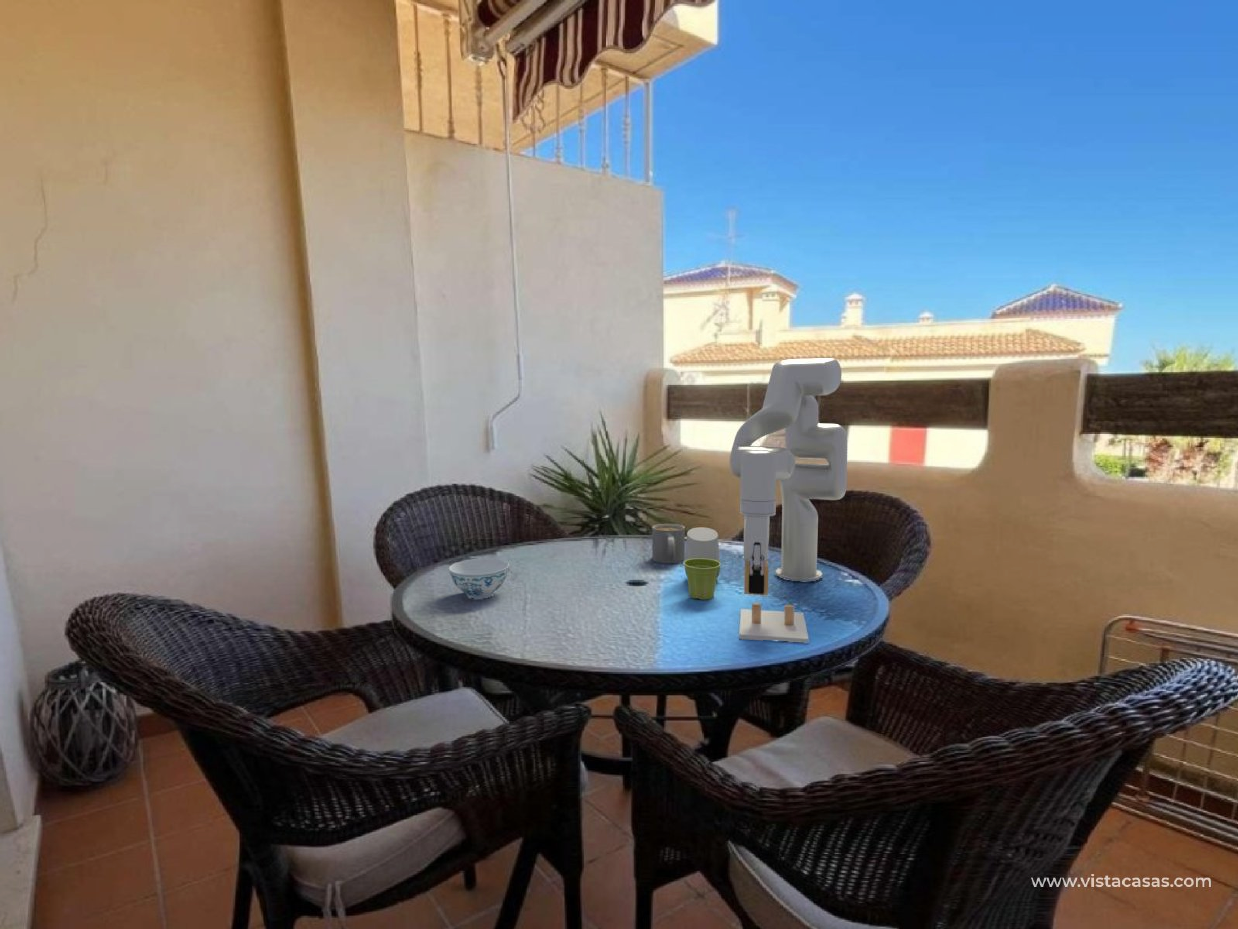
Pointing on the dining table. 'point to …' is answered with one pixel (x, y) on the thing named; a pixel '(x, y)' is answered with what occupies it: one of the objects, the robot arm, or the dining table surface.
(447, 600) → the dining table surface
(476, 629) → the dining table surface
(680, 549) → the coffee mug
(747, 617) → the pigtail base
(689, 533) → the smart speaker
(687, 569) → the plant pot
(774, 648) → the dining table surface
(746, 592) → the tan cardboard-like box
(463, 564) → the chinaware
